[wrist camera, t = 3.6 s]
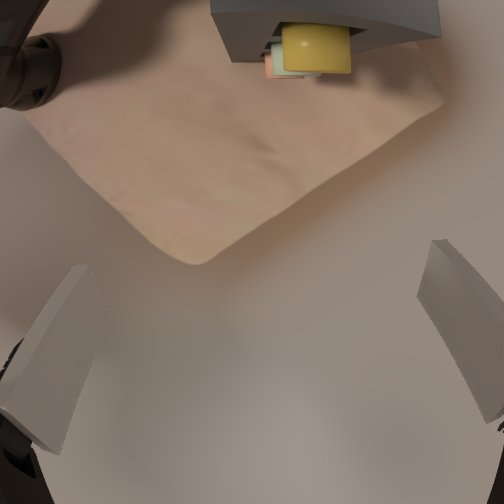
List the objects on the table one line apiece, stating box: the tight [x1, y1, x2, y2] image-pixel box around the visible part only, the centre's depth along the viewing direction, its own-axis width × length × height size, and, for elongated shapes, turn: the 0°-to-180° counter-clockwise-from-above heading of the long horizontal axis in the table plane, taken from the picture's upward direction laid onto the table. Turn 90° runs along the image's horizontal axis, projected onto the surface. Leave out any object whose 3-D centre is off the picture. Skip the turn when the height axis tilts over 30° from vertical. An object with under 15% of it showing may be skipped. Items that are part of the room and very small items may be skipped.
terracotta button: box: [265, 52, 304, 79], centre depth 33 cm, size 4×5×5 cm
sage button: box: [271, 42, 321, 76], centre depth 25 cm, size 4×5×5 cm
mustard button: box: [281, 22, 351, 74], centre depth 18 cm, size 4×5×5 cm
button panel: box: [210, 0, 441, 62], centre depth 25 cm, size 6×14×33 cm, turn 93°
